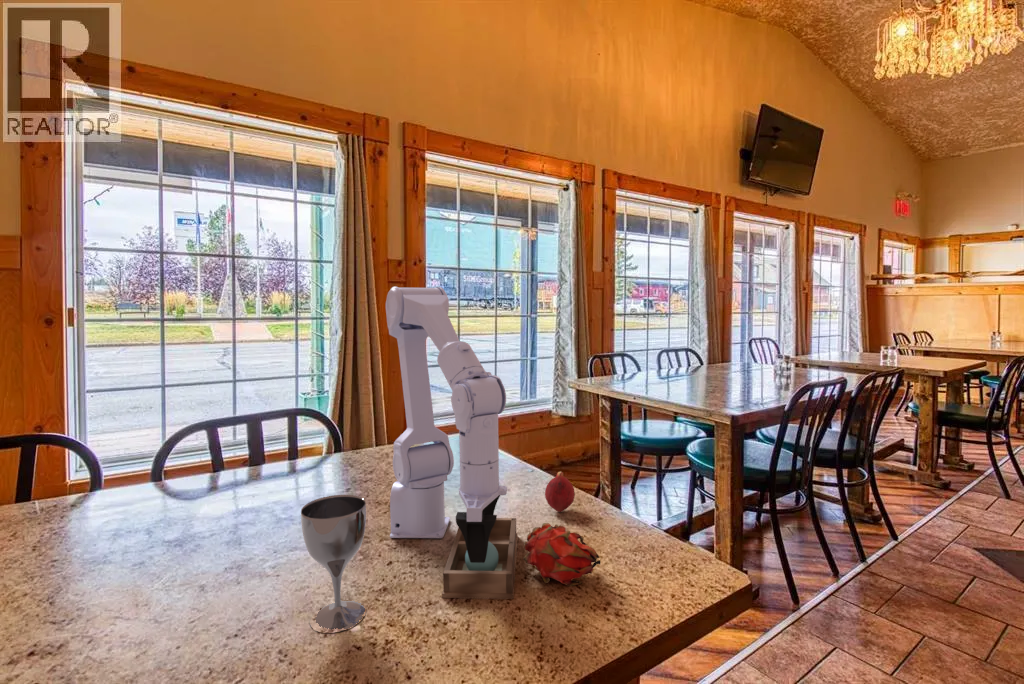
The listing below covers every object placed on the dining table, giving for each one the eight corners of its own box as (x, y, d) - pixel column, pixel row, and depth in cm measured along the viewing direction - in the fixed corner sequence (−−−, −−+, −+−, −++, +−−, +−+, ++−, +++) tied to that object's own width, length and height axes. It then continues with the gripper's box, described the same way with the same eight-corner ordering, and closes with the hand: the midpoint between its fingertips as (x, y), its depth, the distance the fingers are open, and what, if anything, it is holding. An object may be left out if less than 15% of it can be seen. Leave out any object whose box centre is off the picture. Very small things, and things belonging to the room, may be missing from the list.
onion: (573, 519, 96) (573, 478, 96) (543, 517, 97) (543, 476, 97) (575, 507, 102) (575, 468, 101) (547, 505, 103) (547, 466, 102)
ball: (463, 583, 73) (462, 550, 73) (467, 564, 78) (466, 533, 78) (498, 583, 73) (497, 551, 73) (499, 564, 78) (499, 533, 78)
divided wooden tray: (441, 597, 71) (441, 574, 71) (461, 535, 90) (460, 517, 90) (513, 598, 70) (512, 575, 70) (517, 536, 89) (517, 517, 89)
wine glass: (316, 600, 71) (311, 495, 69) (374, 597, 71) (370, 493, 70) (297, 637, 63) (291, 520, 62) (362, 633, 63) (358, 517, 62)
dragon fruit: (520, 574, 80) (594, 603, 75) (505, 566, 73) (585, 597, 68) (538, 521, 83) (609, 545, 78) (525, 508, 76) (603, 534, 71)
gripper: (503, 476, 67) (504, 574, 68) (508, 445, 81) (509, 526, 83) (450, 475, 67) (452, 573, 68) (465, 445, 82) (466, 526, 83)
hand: (480, 548), depth 75 cm, fingers open, 7 cm apart
